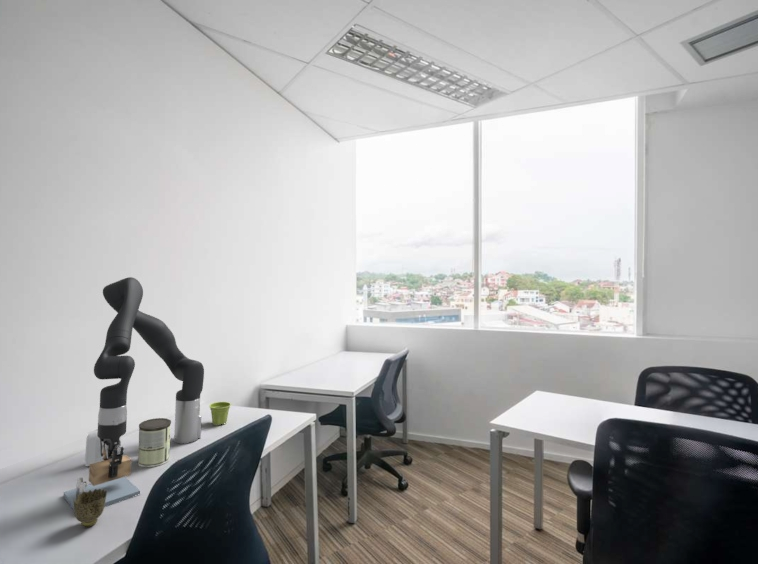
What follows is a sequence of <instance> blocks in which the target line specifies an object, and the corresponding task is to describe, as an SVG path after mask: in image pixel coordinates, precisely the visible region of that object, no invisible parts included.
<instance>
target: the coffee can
mask: <svg viewBox="0 0 758 564" xmlns="http://www.w3.org/2000/svg"><path fill="white" fill-rule="evenodd" d="M171 424H172V420H171V419H168V418H163V417H161V418H160V417H157V418H150V419H145V420H144V421H142V422H140V423H139V424H138V429H139V430H138V431H139V432H138V453H137V454H138V457H137V459H138V460H137V465H138V466H139V467H141V468H154V467H160V466H162V465H165V464H166V463H168V462H169V460H170V449H171V448H170V446H171V445H170V444H171Z"/></svg>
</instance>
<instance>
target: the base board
mask: <svg viewBox="0 0 758 564" xmlns="http://www.w3.org/2000/svg"><path fill="white" fill-rule="evenodd" d="M95 489H97V490H98V489H101V492H102V490H103V489H104V492H105V491H107V495H106V501H105V506H106V507H108V506H112V505H115V504H117V503H120V502H122V500H123V501H125V499H126V500H128V499H127V498H129V499H131V498H133V496H134V497H136V496H135V495H137V496H139V495H138V494H140V495H141V490H140V489H139V488H138V487H137V486H136V485H135V484H133V482H131V481H130V479H129V478H127V476H125V477H122V478H119V479H115V480H112V481H109V482H105V483H102V484H98V485H95V486H93V485H92V484H91V483H90V484H86V492H89V490H91V491H92V492H93V491H94V490H95ZM63 497H64V499H65V500H66V502H67V503H68V505H69V506H70V507H71V509H72V510H73V511H74V502H73V500H74V499H77V498H76V487H75V488H72V489H69V490H66V491H63ZM119 501H120V502H119ZM105 506H104V508H105Z"/></svg>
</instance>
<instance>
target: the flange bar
mask: <svg viewBox="0 0 758 564" xmlns="http://www.w3.org/2000/svg"><path fill="white" fill-rule="evenodd" d="M115 461H116V460H115ZM88 468H89V472H88V481H89V483H90V484H92V485H93V486H95V485H98V484H102V483H105V482H109V481H112V480H115V479H119V478H122V477H128V476H131V471H132V469H131V468H132V458H130V456H128V455H127V454H123V456H122V462H121V464H120V465H118V473H117V476H116V477H114V478H109V459H108V460H105V461H101V462H97V463H93V464H90V466H88Z"/></svg>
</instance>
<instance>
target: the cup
mask: <svg viewBox="0 0 758 564" xmlns="http://www.w3.org/2000/svg"><path fill="white" fill-rule="evenodd" d="M106 495H107V491H105V492H104V489H103V490H102V492H101V489H98V490H97V489H95V490H94V491H93V492H92V491H91V490H89V492H84V491H83V492H82V493H81V494H78V495H77V499H74V500H73V502H74V510H73V512H74V515H75V518H76V520H77V521H78V522H80V526H82V528H90V527H92V526H95V525H97V522H98V518H99V517H101V515H102V514H103V513H104V509H105V507H104V506H105V501H106Z"/></svg>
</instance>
